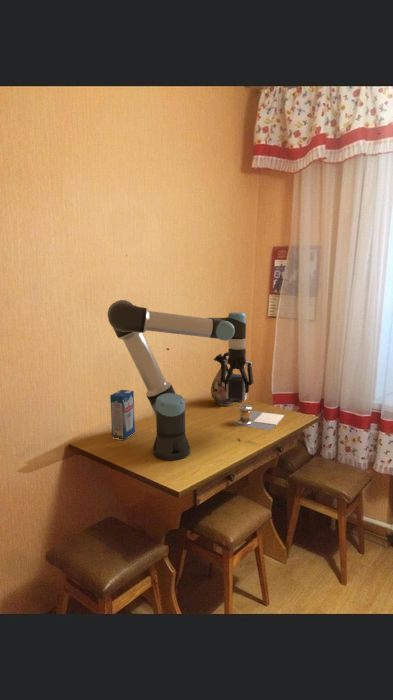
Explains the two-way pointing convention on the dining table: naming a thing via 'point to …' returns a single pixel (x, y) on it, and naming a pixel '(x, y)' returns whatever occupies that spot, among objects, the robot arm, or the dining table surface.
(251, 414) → the board
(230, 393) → the small box
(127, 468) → the dining table surface
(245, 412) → the bobbin
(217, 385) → the ceramic jug
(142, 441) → the dining table surface
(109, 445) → the dining table surface
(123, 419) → the milk carton
